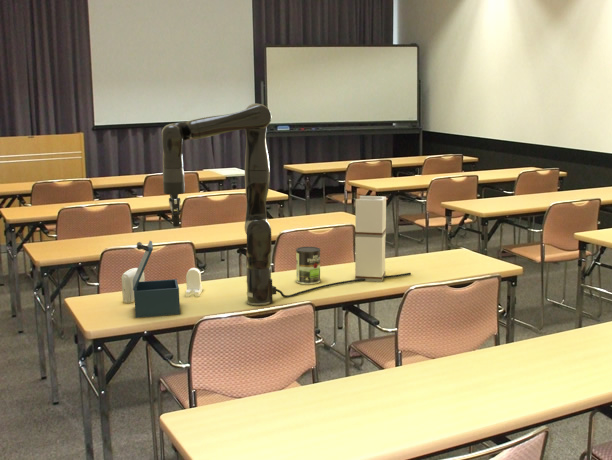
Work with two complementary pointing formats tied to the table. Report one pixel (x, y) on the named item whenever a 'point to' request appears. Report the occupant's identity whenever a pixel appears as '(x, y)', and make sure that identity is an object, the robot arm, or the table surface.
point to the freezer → (157, 298)
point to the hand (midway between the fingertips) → (175, 224)
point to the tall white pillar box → (370, 238)
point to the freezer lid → (142, 262)
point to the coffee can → (308, 265)
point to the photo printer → (129, 285)
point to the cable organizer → (193, 282)
